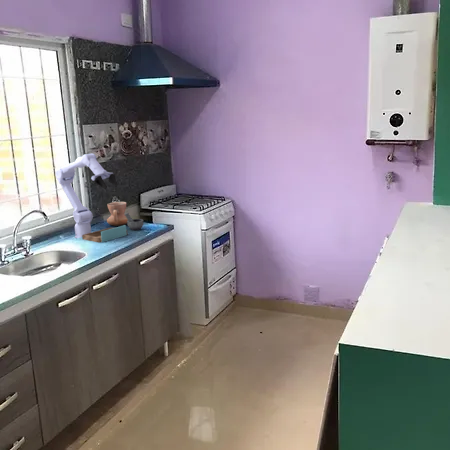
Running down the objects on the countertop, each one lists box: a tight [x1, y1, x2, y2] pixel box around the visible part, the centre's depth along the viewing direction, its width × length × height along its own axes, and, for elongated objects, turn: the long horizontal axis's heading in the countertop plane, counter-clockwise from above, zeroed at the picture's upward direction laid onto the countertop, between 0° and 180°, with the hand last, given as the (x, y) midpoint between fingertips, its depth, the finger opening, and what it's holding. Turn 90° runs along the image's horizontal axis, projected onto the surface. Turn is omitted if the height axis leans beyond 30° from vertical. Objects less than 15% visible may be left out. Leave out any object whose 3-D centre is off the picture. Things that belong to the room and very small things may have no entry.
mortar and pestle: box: [124, 212, 144, 231], centre depth 325 cm, size 11×9×12 cm
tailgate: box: [101, 224, 128, 243], centre depth 304 cm, size 1×18×6 cm, turn 142°
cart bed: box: [81, 227, 129, 244], centre depth 310 cm, size 15×21×4 cm
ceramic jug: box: [106, 201, 128, 227], centre depth 345 cm, size 18×14×14 cm
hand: (111, 186), depth 293 cm, fingers open, 7 cm apart
